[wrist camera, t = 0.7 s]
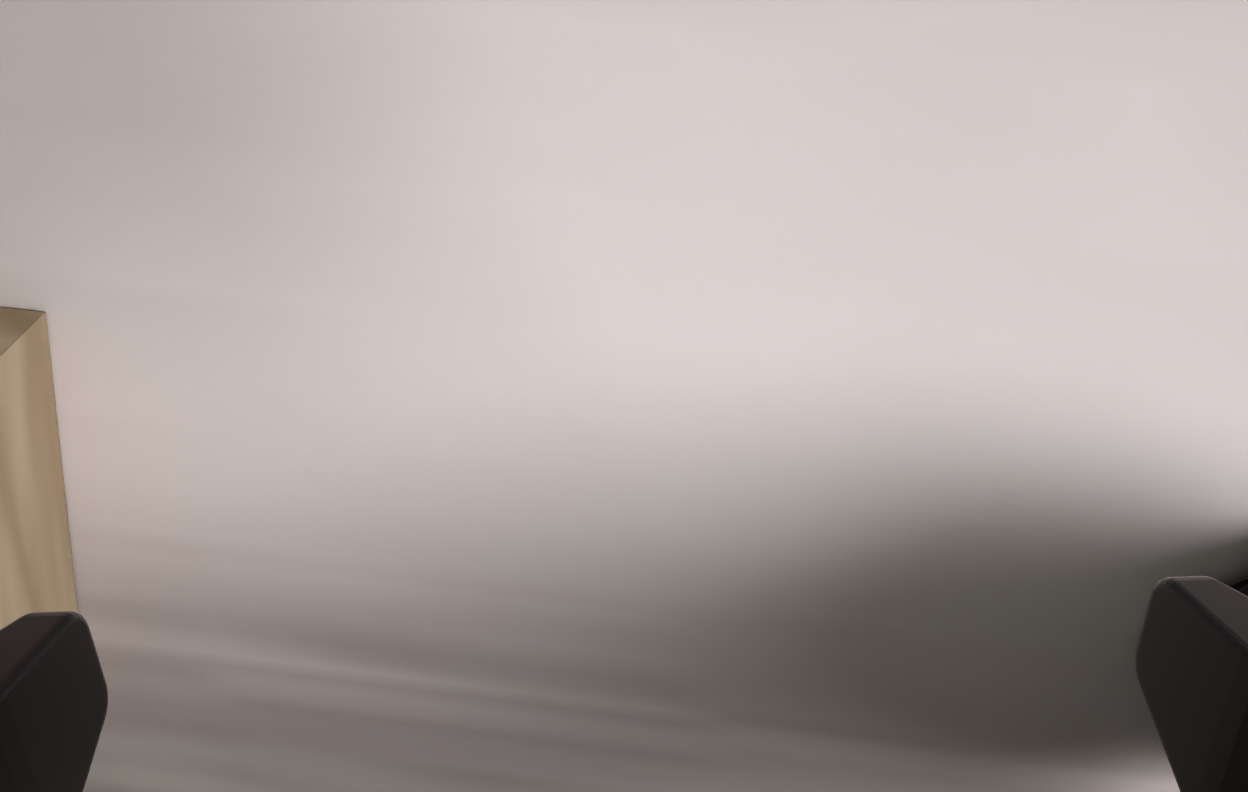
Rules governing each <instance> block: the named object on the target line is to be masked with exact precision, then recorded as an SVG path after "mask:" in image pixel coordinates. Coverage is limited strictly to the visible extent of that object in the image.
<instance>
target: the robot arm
mask: <svg viewBox="0 0 1248 792" xmlns="http://www.w3.org/2000/svg"><path fill="white" fill-rule="evenodd" d="M1135 663H1136V672H1137V677H1138V680H1139V684H1140V686H1141V689H1142V692H1143V694H1144V697H1145V700H1146V702H1147V705H1148V707H1149V710H1150V713H1151V715H1152V718H1153V721H1154V723H1155V726H1156V729H1157V731H1158V734H1159V736H1160V739H1161V742H1162V744H1163V747H1164V750H1165V752H1166V755H1167V758H1168V760H1169V763H1170V765H1171V768H1172V771H1173V773H1174V776H1175V779H1176V781H1177V784H1178V787H1179V789H1180V792H1248V580H1246V581H1243V582H1241V583H1239V584H1236V585H1234V586H1232V587H1230V586H1228V585H1226V584H1224V583H1222V582H1220V581H1218V580H1217V579H1214V578H1212V577H1208V576H1182V577H1165V578H1163V579H1161V580H1159V581H1158V582H1157V583H1156V585H1155V586H1154V588H1153V590H1152V593H1151V596H1150V600H1149V604H1148V608H1147V611H1146V615H1145V619H1144V623H1143V627H1142V631H1141V635H1140V638H1139V642H1138V646H1137V651H1136V662H1135ZM107 705H108V693H107V686H106V681H105V678H104V675H103V672H102V668H101V665H100V662H99V658H98V655H97V652H96V649H95V645H94V642H93V639H92V636H91V632H90V629H89V626H88V624H87V622H86V620H85V619H84V617H83V616H82V615H80V614H79V613H76V612H74V611H57V612H34V613H29V614H25V615H24V616H22V617H20V618H18V619H17V620H15V621H14V622H12V623H10V624H9V625H7V626H6V627H4V628H3V629H1V630H0V792H83V790H84V786H85V783H86V780H87V776H88V773H89V770H90V766H91V763H92V760H93V756H94V753H95V750H96V746H97V743H98V740H99V736H100V733H101V730H102V726H103V723H104V720H105V716H106V712H107Z"/></svg>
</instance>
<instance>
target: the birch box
mask: <svg viewBox="0 0 1248 792" xmlns="http://www.w3.org/2000/svg"><path fill="white" fill-rule="evenodd" d="M57 611H74V612H76V613H78V609H77V599H76V590H75V581H74V572H73V562H72V553H71V544H70V535H69V525H68V516H67V507H66V498H65V488H64V479H63V470H62V461H61V451H60V442H59V433H58V424H57V414H56V405H55V396H54V387H53V377H52V368H51V359H50V350H49V340H48V331H47V322H46V313H45V312H39V311H30V310H21V309H12V308H2V307H0V630H1V629H3V628H4V627H6V626H7V625H9V624H10V623H12V622H14V621H15V620H17V619H18V618H20V617H22V616H24V615H25V614H29V613H34V612H57Z"/></svg>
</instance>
